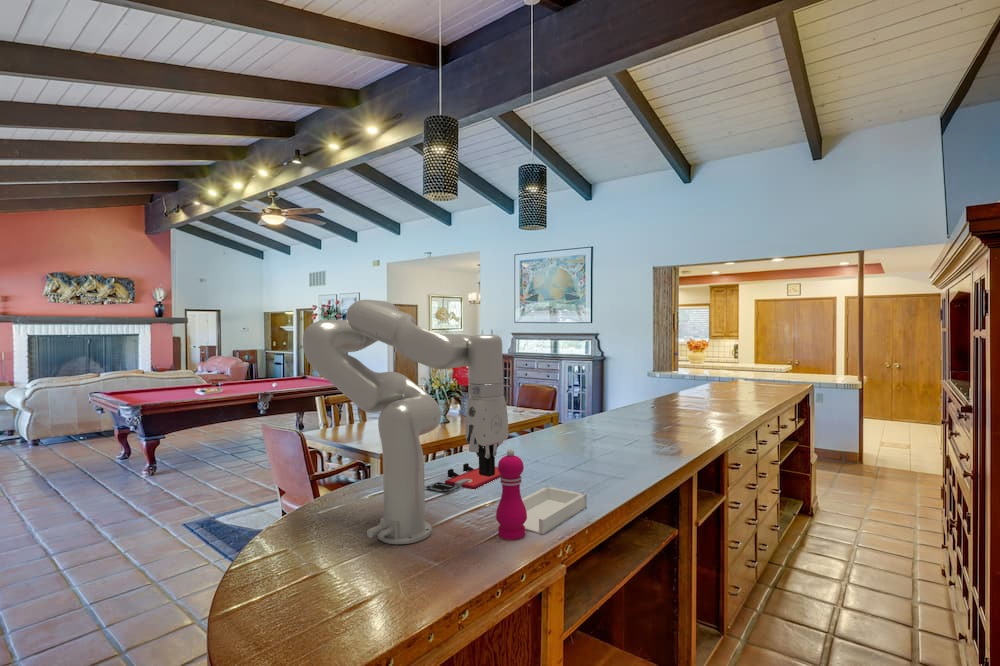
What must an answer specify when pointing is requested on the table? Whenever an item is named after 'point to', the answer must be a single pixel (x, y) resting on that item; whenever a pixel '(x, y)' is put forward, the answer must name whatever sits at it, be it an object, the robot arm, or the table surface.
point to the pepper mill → (511, 498)
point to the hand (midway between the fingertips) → (487, 474)
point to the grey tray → (551, 508)
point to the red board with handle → (464, 479)
